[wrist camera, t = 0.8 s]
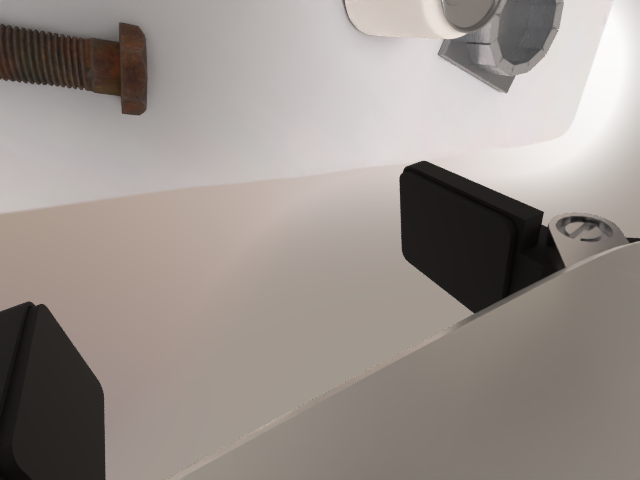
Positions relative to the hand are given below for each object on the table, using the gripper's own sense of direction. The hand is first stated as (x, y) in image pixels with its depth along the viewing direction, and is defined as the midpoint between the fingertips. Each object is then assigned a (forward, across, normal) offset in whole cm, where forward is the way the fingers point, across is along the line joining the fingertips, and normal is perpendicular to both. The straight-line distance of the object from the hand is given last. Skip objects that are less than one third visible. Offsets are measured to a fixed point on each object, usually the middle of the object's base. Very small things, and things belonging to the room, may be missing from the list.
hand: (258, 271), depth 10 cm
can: (+26, -21, -4) cm, 34 cm away
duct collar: (+26, -36, 0) cm, 44 cm away
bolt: (+27, +7, -5) cm, 28 cm away
